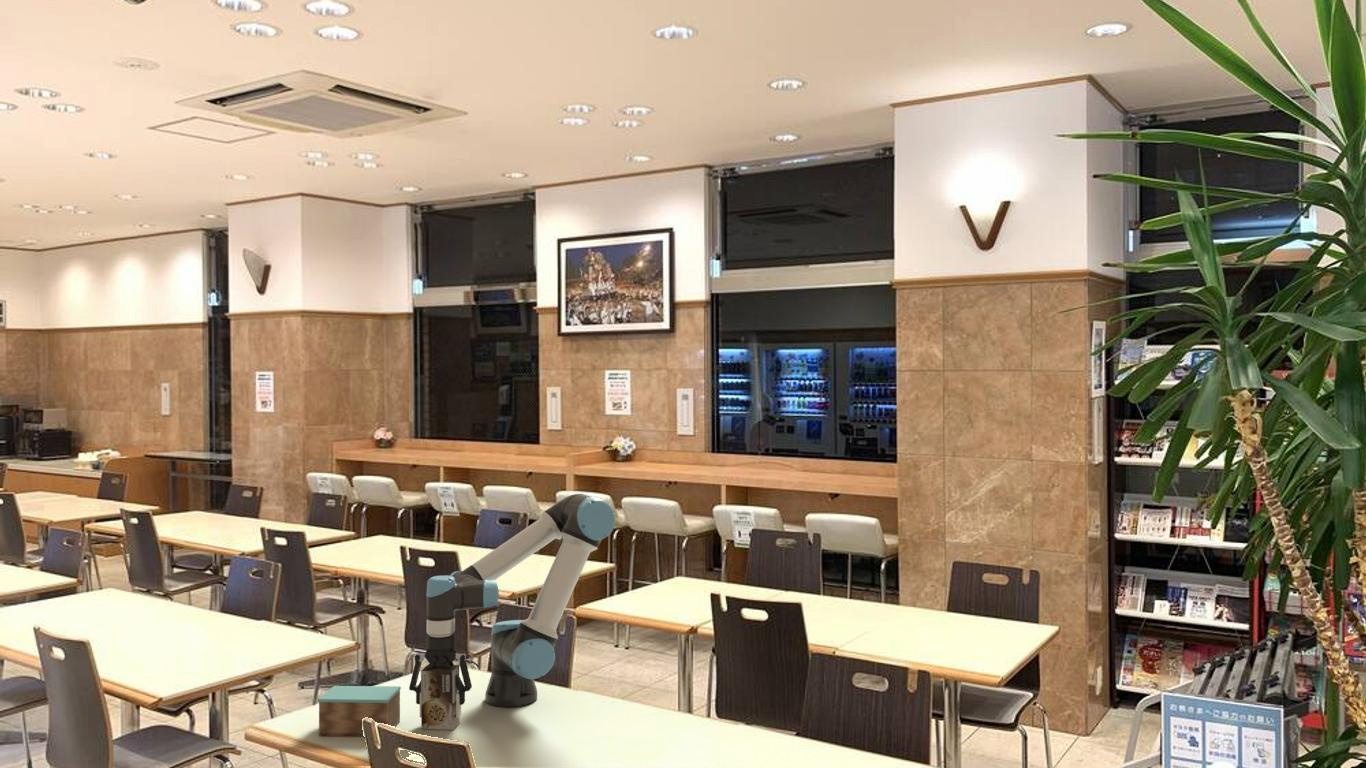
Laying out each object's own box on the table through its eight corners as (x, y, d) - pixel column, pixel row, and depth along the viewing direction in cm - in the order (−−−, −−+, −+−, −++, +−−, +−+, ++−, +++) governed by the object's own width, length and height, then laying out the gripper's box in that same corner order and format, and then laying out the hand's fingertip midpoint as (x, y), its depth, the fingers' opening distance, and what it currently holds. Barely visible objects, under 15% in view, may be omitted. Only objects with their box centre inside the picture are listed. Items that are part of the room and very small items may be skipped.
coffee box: (460, 722, 288) (460, 664, 288) (453, 730, 282) (453, 670, 282) (428, 721, 289) (428, 663, 289) (420, 729, 283) (420, 669, 283)
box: (399, 721, 289) (399, 689, 289) (386, 736, 277) (386, 702, 277) (334, 721, 289) (335, 688, 289) (319, 736, 277) (319, 702, 277)
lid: (400, 689, 289) (400, 686, 289) (387, 702, 276) (387, 699, 276) (334, 688, 289) (334, 685, 289) (317, 702, 277) (317, 699, 277)
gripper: (483, 630, 289) (483, 712, 289) (404, 630, 289) (404, 711, 290) (477, 637, 282) (477, 721, 282) (396, 636, 282) (396, 720, 282)
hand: (440, 716), depth 286 cm, fingers closed on coffee box, 9 cm apart
